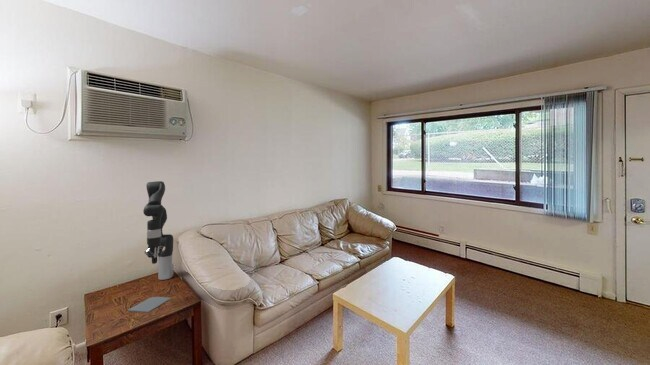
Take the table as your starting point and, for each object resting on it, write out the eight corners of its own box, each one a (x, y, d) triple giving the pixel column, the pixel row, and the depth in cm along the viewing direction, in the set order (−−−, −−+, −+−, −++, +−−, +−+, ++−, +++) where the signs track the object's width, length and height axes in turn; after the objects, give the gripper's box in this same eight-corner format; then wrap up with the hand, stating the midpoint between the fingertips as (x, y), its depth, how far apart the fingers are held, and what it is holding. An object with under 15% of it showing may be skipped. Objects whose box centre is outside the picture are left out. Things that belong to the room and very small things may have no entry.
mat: (152, 297, 167) (152, 296, 167) (171, 298, 165) (171, 297, 165) (127, 311, 149) (127, 310, 149) (148, 312, 147) (148, 311, 147)
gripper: (157, 233, 167) (157, 259, 167) (139, 238, 154) (140, 266, 154) (167, 234, 166) (167, 260, 166) (150, 238, 153) (151, 267, 153)
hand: (154, 263), depth 160 cm, fingers closed
